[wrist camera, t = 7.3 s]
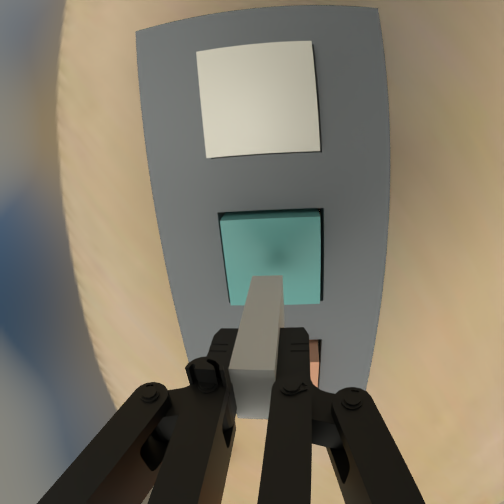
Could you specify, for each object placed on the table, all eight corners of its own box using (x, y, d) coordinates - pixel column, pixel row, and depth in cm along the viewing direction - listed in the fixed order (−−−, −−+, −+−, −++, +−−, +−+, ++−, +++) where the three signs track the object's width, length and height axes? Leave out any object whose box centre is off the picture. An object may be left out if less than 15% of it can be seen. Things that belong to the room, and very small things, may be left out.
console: (153, 40, 19) (135, 31, 16) (367, 21, 16) (377, 8, 14) (209, 389, 31) (203, 411, 28) (357, 389, 29) (360, 411, 26)
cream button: (209, 60, 17) (196, 51, 14) (308, 52, 16) (311, 40, 14) (218, 152, 19) (206, 158, 17) (315, 146, 19) (320, 151, 16)
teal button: (228, 207, 22) (220, 220, 20) (316, 203, 21) (320, 216, 19) (237, 284, 25) (230, 305, 22) (317, 282, 24) (319, 303, 21)
